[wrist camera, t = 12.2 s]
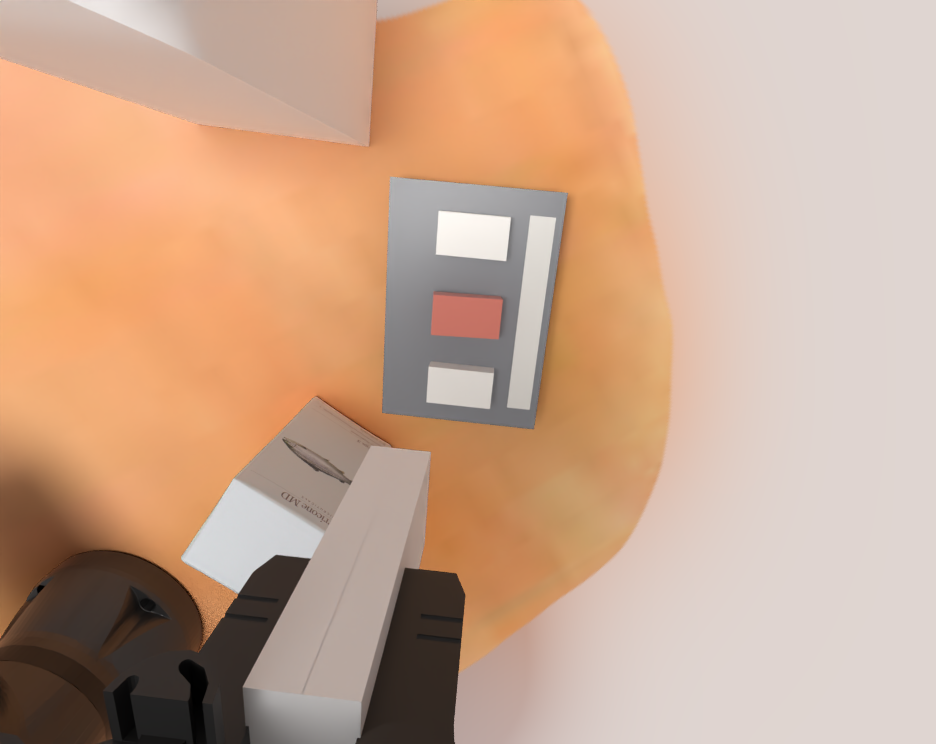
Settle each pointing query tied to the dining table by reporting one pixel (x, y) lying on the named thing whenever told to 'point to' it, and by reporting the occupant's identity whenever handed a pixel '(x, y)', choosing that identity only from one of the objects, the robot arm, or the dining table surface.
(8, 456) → the dining table surface
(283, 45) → the milk
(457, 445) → the dining table surface
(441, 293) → the block
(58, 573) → the robot arm
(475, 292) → the breaker panel
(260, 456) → the supplement box
